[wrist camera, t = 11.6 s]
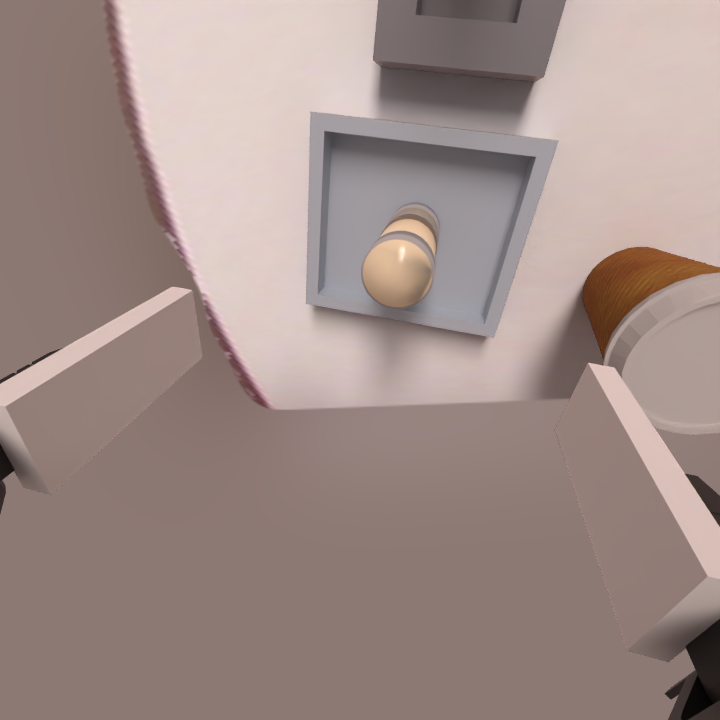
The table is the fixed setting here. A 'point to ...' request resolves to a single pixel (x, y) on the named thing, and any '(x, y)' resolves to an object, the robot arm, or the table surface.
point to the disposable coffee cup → (661, 334)
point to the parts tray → (430, 187)
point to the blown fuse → (403, 258)
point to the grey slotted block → (468, 36)
